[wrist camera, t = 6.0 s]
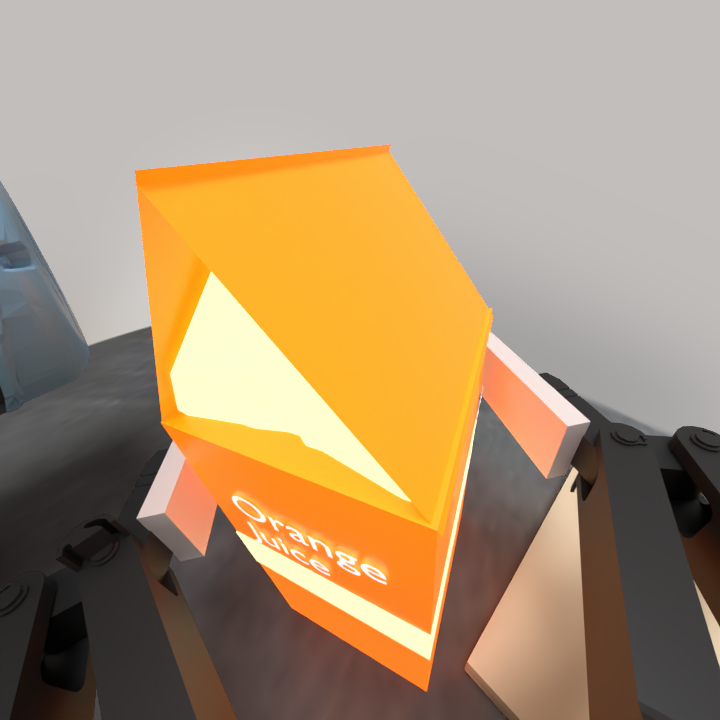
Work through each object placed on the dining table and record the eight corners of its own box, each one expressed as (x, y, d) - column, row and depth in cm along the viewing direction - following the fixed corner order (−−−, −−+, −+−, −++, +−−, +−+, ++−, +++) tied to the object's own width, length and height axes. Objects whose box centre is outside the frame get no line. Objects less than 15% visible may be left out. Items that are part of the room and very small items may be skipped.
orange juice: (464, 511, 19) (525, 125, 8) (429, 696, 13) (488, 107, 2) (356, 474, 23) (293, 158, 11) (287, 607, 16) (-13, 196, 5)
